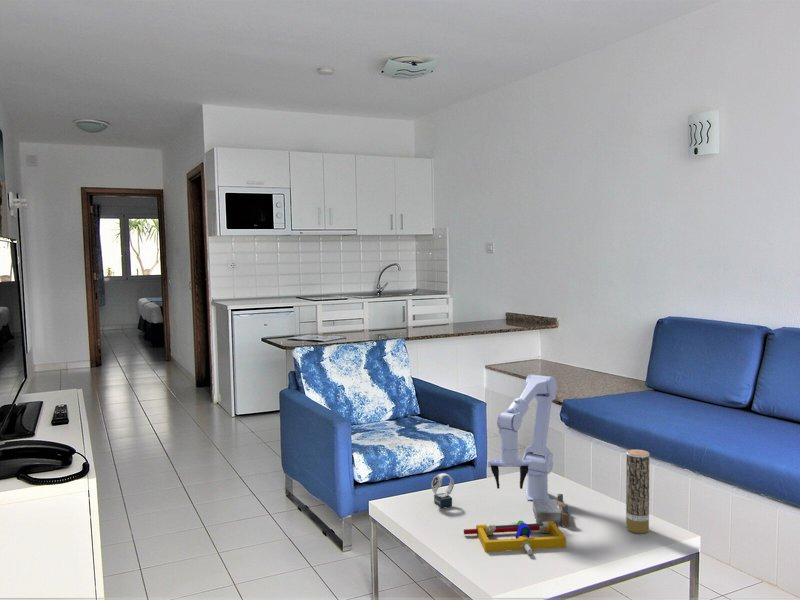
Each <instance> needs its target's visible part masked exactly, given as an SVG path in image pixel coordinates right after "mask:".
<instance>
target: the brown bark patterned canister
mask: <svg viewBox="0 0 800 600" xmlns="http://www.w3.org/2000/svg"><path fill="white" fill-rule="evenodd" d="M625 465H626V466H625V467H626V468H625V469H626V472H625V473H626V480H625V481H626V482H625V483H626V484H625V485H626V486H625V487H626V488H625V489H626V490H625V493H626V498H625V499H626V500H625V503H626V504H625V506H626V507H625V511H626V512H625V513H626V514H625V515H626V516H625V517H626V518H625V520H626V521H625V522H626V523H625V527H626V529H627V530H628V531H629V532H631V533H634V534H646V533H648V531H649V527H650V452H649V451H647V450H643V449H634V448H633V449H628V450H626V463H625Z"/></svg>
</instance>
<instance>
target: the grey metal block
mask: <svg viewBox="0 0 800 600" xmlns="http://www.w3.org/2000/svg"><path fill="white" fill-rule="evenodd" d="M532 511H533V514H534V520H535V519H536V520H535V522H536V523H535V524H537V523H542V522H544V521H554V523H555V525H556V524H557V525H558V524H559V525H560V524H561V525H562V523H561V510H560V508H559V505H558V503H557V500H556V498H552V499H551V498H550V499H533V500H532Z"/></svg>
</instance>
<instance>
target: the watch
mask: <svg viewBox="0 0 800 600" xmlns="http://www.w3.org/2000/svg"><path fill="white" fill-rule="evenodd" d="M444 477H448V478H449V479H450V480H449V484H448V486H447V489H446V490H445V492H443V493H437V492H438V489H440V488H441V487H442V482H443V479H444ZM430 487H431V490H432V492H433V498H434V500H433V503H434V505H436V506H437V505H438V506H439V507H438V508H439V509H445V508H444V507H447V508H451V507H450V506H452V507H453V498H452V496H450V495H451V493H452V492H453V489H454V487H455V481H454V479H453V477H452V476H450V475H449V474H447V473H445V472H444V473H438V474H437V475H435V476H434V477H433V478H432V480H431V484H430Z"/></svg>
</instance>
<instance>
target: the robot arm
mask: <svg viewBox="0 0 800 600" xmlns="http://www.w3.org/2000/svg"><path fill="white" fill-rule="evenodd" d="M524 384H525V385H524V386H525V388H524V389H523V391H522V392H521V394H520V396H519V397H518V398H514V400H513V401H512V402H511V404H510V405H509V406H508V408H507V409H506V410H505V411H502V412H501V413H499V414H498V416H497V421H496V426H497V428H498V433H499V435H500V458H498V459H497V458H496V459H487V468H490V469H491V473H492V474H493V476H494V480H495V482H496V489H500V480H499V477H500V473H499V472H500V471H499V470H500V469H499V468H500V467H502V468H503V467H504V468H506V467H507V468H509V467H511V468H512V467H515V468H519V489H521V490H522V489H523V485H524V483H525V479H526V478H527V479H526V480H527V482H526V483H527V484H526V485H527V487H526V489H524V493H525V496H526V500H528V501H533V499H551V497H550V495H549V492H548V491H549V490H548V489H549V488H548V487H549V485H548V481H549V480H548V478H549V477H548V475H549V474H551V472H552V470H553V467H554V461H553V456H554V455H553V452H552V451H551V450H550V449H549V448H548V447H547V441H548V440H547V439H548V435H549V434H548V433H549V425H550V418H551V417H550V416H551V409H552V401H555V400H556V396H557V388H558V383H557V380H556V377H554V376H549V375H548V376H547V375H537V374H532V373H531V374H528V376H527V377H526V379H525V383H524ZM534 399H535V400H536V402H537V403H536V412H535V419H534V426H533V434H532V440H531V444H530V445H529V446H527V447H526V448H525V449H524V453H523V456H522V457H521V458H522V459H520V458H519V439H518V438H519V436H518V434H519V430H520V429H521V426H522V422H523V417H525V415H526V413H527V412H528V410H529V403H531V401H533V400H534ZM526 476H527V477H526Z"/></svg>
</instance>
